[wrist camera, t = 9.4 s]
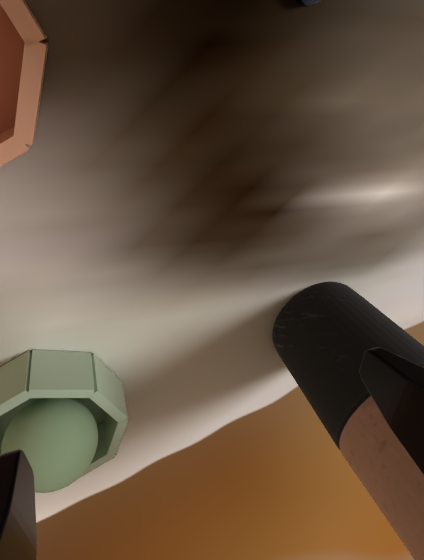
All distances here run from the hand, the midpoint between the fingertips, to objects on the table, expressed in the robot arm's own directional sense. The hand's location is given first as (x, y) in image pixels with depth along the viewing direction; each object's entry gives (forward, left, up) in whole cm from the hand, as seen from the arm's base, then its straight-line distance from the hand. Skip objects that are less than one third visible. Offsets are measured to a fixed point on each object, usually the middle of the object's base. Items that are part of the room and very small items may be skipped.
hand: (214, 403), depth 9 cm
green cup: (+11, +8, -12) cm, 18 cm away
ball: (+11, +8, -9) cm, 16 cm away
